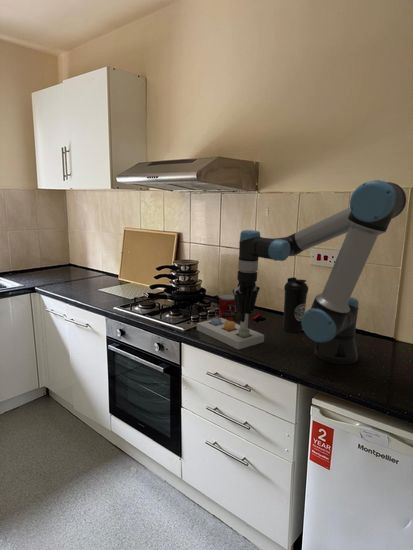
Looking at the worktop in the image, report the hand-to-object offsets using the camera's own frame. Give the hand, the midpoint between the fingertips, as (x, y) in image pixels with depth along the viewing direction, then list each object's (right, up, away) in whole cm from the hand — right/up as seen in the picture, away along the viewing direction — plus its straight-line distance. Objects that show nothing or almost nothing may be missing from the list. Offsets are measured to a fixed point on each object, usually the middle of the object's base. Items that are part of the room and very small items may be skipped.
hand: (243, 328), depth 154 cm
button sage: (0, -4, +1) cm, 4 cm away
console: (-5, -4, +7) cm, 10 cm away
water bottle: (+23, -3, +18) cm, 30 cm away
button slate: (-11, -1, +14) cm, 17 cm away
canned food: (-5, 0, +29) cm, 30 cm away
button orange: (-5, -2, +7) cm, 9 cm away
